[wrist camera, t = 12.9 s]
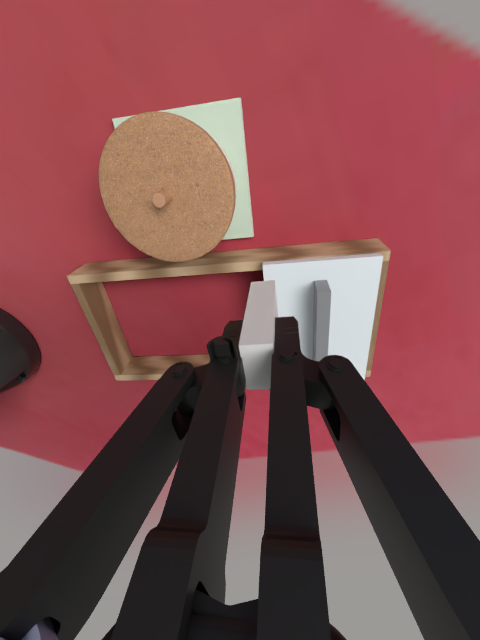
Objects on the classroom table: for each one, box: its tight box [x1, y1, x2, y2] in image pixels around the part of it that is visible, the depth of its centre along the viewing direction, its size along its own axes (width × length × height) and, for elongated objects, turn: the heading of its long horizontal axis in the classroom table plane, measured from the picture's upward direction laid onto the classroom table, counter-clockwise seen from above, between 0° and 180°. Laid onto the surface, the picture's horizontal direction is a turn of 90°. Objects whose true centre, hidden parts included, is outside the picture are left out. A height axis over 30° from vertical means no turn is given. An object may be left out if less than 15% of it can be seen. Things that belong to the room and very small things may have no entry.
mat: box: [112, 98, 254, 240], centre depth 29 cm, size 12×12×1 cm
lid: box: [263, 253, 383, 381], centre depth 30 cm, size 11×16×3 cm
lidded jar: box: [99, 111, 237, 262], centre depth 24 cm, size 11×11×9 cm
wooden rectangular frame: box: [67, 238, 391, 380], centre depth 35 cm, size 34×16×4 cm, turn 97°
